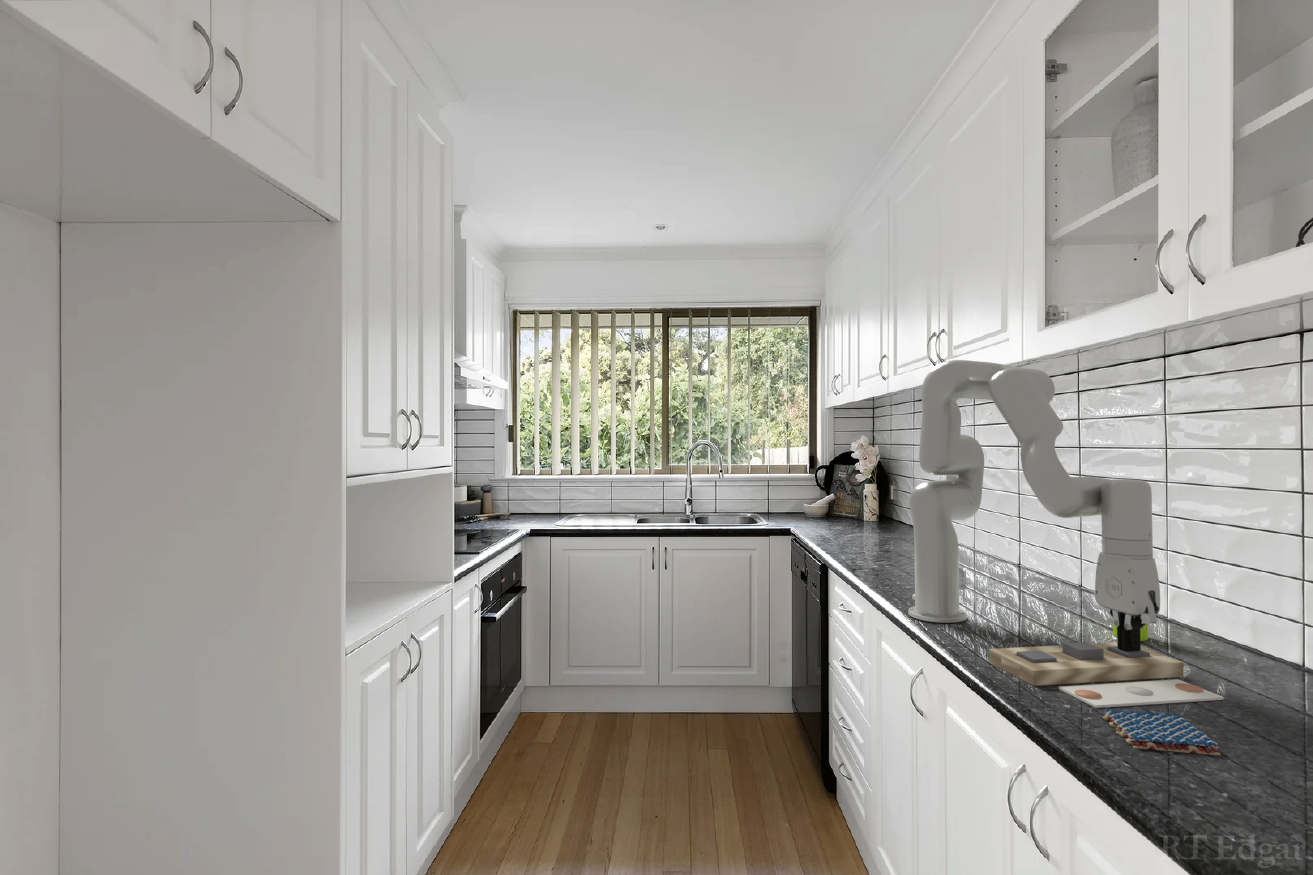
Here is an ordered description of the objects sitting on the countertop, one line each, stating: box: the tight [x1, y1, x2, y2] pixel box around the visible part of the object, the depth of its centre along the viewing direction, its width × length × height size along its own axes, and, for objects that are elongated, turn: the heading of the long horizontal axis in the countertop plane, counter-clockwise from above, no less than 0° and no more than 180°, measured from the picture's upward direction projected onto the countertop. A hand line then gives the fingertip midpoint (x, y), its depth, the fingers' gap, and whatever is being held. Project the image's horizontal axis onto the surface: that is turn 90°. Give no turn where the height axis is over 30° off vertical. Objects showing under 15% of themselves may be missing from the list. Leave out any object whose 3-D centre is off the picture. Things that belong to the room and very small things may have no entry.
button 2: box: [1062, 641, 1104, 661], centre depth 120 cm, size 4×4×2 cm
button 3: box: [1108, 646, 1150, 658], centre depth 121 cm, size 4×4×2 cm
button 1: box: [1017, 650, 1057, 663], centre depth 119 cm, size 4×4×2 cm
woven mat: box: [1102, 708, 1222, 756], centre depth 93 cm, size 10×11×2 cm
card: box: [1058, 678, 1224, 709], centre depth 108 cm, size 22×8×1 cm, turn 97°
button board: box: [988, 641, 1184, 687], centre depth 120 cm, size 28×12×2 cm, turn 97°
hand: (1129, 649), depth 121 cm, fingers closed
